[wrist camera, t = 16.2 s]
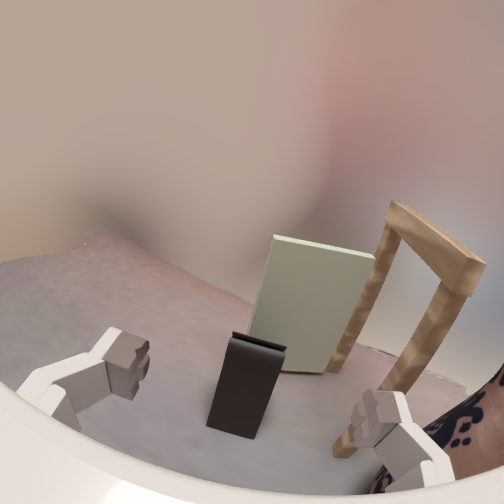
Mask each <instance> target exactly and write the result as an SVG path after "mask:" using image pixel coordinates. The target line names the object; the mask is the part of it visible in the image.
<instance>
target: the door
mask: <svg viewBox="0 0 504 504" xmlns="http://www.w3.org/2000/svg"><path fill="white" fill-rule="evenodd" d="M375 260H376V259H375V257H374V256H373V255H371V254H367V253H363V252H358V251H353V250H348V249H343V248H339V247H334V246H329V245H324V244H318V243H314V242H309V241H304V240H299V239H294V238H289V237H284V236H278V235H273V237H272V242H271V245H270V249H269V253H268V256H267V260H266V264H265V268H264V271H263V275H262V279H261V283H260V286H259V290H258V294H257V298H256V301H255V305H254V309H253V312H252V316H251V320H250V323H249V327H248V331H247V334H246V335H248V336H251V337H255V338H258V339H262V340H265V341H269V342H272V343H276V344H280V345H284V346H287V349H286V350H285V351H284V352H285V353H286V356H285V360H284V363H283V366H282V368H281V370H285V371H300V372H319V373H323V372H324V371H325V369H326V367H327V365H328V363H329V361H330V359H331V357H332V355H333V353H334V351H335V349H336V348H337V346H338V344H339V342H340V339H341V337H342V335H343V333H344V331H345V329H346V327H347V325H348V323H349V321H350V319H351V317H352V314H353V312H354V310H355V308H356V306H357V303H358V301H359V299H360V296H361V294H362V292H363V290H364V287H365V285H366V282H367V280H368V278H369V275H370V273H371V270H372V268H373V265H374V263H375Z"/></svg>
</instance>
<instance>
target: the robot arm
mask: <svg viewBox="0 0 504 504" xmlns="http://www.w3.org/2000/svg"><path fill="white" fill-rule="evenodd" d="M148 350H149V341H148V340H145V339H143V338H140V337H137V336H135V335H132V334H130V333H127V332H125V331H122V330H119V329H117V328H114V327H110V328H108V330H107V331H106V332H105V333H104V335H103V336H102V337H101V338H100V340H99V341H98V342H97V343H96V345H95V346H94V347H93V348H92V350H91V351H90V352H89V353H86V352H84V353H82V354H79V355H76V356H73V357H70V358H68V359H65V360H62V361H59V362H56V363H53V364H50V365H48V366H45V367H42V368H39V369H36V370H34V371H33V372H32V373H31V374H30V376H29V377H28V378H27V379H26V380H25V382H24V383H23V384H22V385H21V386H20V388H19V389H18V390H17V391H16V393H15V392H14V391H13V390H11V389H10V388H9V387H7V386H6V385H5V384H3V383H2V382H1V381H0V504H504V465H503V466H500V467H498V468H495V469H492V470H489V471H486V472H483V473H480V474H477V475H474V476H470V477H467V478H463V479H460V480H455V476H454V473H453V469H452V465H451V462H450V458H449V456H448V455H447V454H446V453H445V452H444V451H443V450H442V449H441V448H440V447H439V446H438V445H437V444H436V443H435V442H434V441H433V440H432V439H431V438H430V437H429V436H428V435H427V434H426V433H425V432H424V431H423V430H422V429H421V428H420V427H419V426H418V425H417V424H416V423H413V422H412V419H411V415H410V412H409V409H408V405H407V402H406V399H405V396H404V394H403V393H402V392H397V391H383V390H371V389H369V390H367V391H366V392H365V393H364V394H363V400H361V401H359V402H357V404H356V405H355V407H354V409H353V412H352V418H351V420H352V425H353V426H354V427H355V428H356V430H355V432H354V433H353V436H354V444H355V447H361V448H374V451H375V452H376V454H377V455H378V457H379V458H380V460H381V461H382V462H383V464H384V465H385V467H386V468H387V470H388V471H389V473H390V474H391V476H392V477H393V478H394V480H395V481H394V482H393V483H392V484H390V485H389V486H387V487H386V488H385V493H379V494H366V495H302V494H288V493H278V492H269V491H261V490H254V489H248V488H242V487H236V486H231V485H226V484H221V483H217V482H212V481H208V480H204V479H200V478H196V477H192V476H188V475H185V474H181V473H178V472H175V471H171V470H168V469H165V468H162V467H159V466H156V465H153V464H150V463H148V462H145V461H142V460H140V459H137V458H134V457H132V456H129V455H127V454H124V453H122V452H120V451H117V450H115V449H113V448H110V447H108V446H106V445H104V444H102V443H100V442H97V441H95V440H93V439H91V438H89V437H87V436H85V435H83V434H81V433H80V431H81V426H80V424H79V421H78V419H77V417H76V415H75V414H77V413H79V412H81V411H83V410H84V409H86V408H88V407H90V406H91V405H93V404H95V403H97V402H99V401H100V400H102V399H104V398H106V397H107V396H109V395H111V393H113V394H115V395H118V396H120V397H123V398H126V399H128V400H131V401H132V400H133V398H134V397H135V395H136V393H137V391H138V389H139V381H141V380H143V379H144V378H145V376H146V374H147V370H148V367H149V361H150V359H149V355H148V354H147V351H148Z"/></svg>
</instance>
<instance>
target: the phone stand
mask: <svg viewBox="0 0 504 504" xmlns="http://www.w3.org/2000/svg"><path fill="white" fill-rule="evenodd" d="M232 334H233V336H232V337H230V340H229V343H228V346H227V350H226V354H225V359H224V363H223V367H222V370H221V374H220V377H219V381H218V385H217V388H216V392H215V395H214V399H213V403H212V406H211V410H210V413H209V417H208V421H207V424H206V425H207V426H210V427H213V428H217V429H220V430H223V431H227V432H230V433H233V434H237V435H241V436H244V437H248V438H252V439H254V438H255V436H256V433H257V431H258V428H259V425H260V423H261V420H262V418H263V415H264V413H265V410H266V407H267V405H268V402H269V399H270V397H271V394H272V391H273V389H274V386H275V383H276V380H277V378H278V375H279V373H280V371H281V368H282V366H283V363H284V360H285V356H286V353H285V352H284V351H285V350H286V349H287V346H284V345H280V344H276V343H272V342H269V341H265V340H262V339H258V338H255V337H251V336H248V335H244V334H241V333H238V332H234V331H233V333H232Z"/></svg>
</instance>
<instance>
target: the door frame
mask: <svg viewBox="0 0 504 504" xmlns="http://www.w3.org/2000/svg"><path fill="white" fill-rule="evenodd" d="M385 222H386V225H385V228H384V231H383V234H382V237H381V240H380V243H379V245H378V248H377V251H376V253H375V256H374V257H375V259H376V260H375V263H374V265H373V268H372V270H371V273H370V275H369V278H368V280H367V282H366V285H365V287H364V290H363V292H362V294H361V296H360V299H359V301H358V303H357V306H356V308H355V310H354V312H353V314H352V317H351V319H350V321H349V323H348V325H347V327H346V329H345V331H344V333H343V335H342V337H341V339H340V342H339V344H338V346H337V348H336V349H335V351H334V353H333V355H332V357H331V359H330V361H329V363H328V365H327V371H330V372H336V373H338V372H339V371H340V369H341V367H342V365H343V363H344V362H345V360H346V358H347V356H348V354H349V353H350V351H351V349H352V347H353V345H354V343H355V341H356V339H357V338H358V335H359V334H360V332H361V330H362V328H363V326H364V324H365V322H366V319H367V318H368V315H369V313H370V311H371V309H372V307H373V305H374V303H375V301H376V299H377V296H378V294H379V292H380V290H381V288H382V285H383V283H384V281H385V278H386V276H387V274H388V271H389V269H390V266H391V264H392V262H393V259H394V257H395V254H396V251H397V249H398V246H399V244H400V241H401V238H402V239H403V240H404V241H405V242H406V243H407V244H408V245H409V246H410V247H411V248H412V249H413V250H414V251H415V252H416V253H417V254H418V255H419V256H420V257H421V258H422V259H423V260H424V261H425V263H426V264H427V265H428V266H429V267H430V268H431V269H432V270H433V271H434V272H435V274H436V275H437V276H438V277H439V278H440V279H441V282H440V284H439V287H438V289H437V291H436V293H435V295H434V297H433V299H432V301H431V303H430V305H429V307H428V309H427V310H426V312H425V314H424V316H423V318H422V320H421V322H420V323H419V325H418V327H417V329H416V331H415V332H414V334H413V336H412V338H411V339H410V341H409V342H408V344H407V346H406V347H405V349H404V351H403V352H402V354H401V356H400V357H399V359H398V360H397V362H396V363H395V365H394V366H393V368H392V369H391V371H390V372H389V374H388V375H387V377H386V378H385V380H384V381H383V383H382V384H381V386H380V387H379V388H378V390H383V391H397V392H402V393H403V394H404V396H405V394H406V393H407V392H408V390H409V389H410V388H411V386H412V385H413V384H414V382H415V381H416V380H417V378H418V377H419V376H420V374H421V373H422V371H423V370H424V368H425V367H426V366H427V364H428V362H429V361H430V360H431V358H432V357H433V355H434V354H435V352H436V351H437V349H438V347H439V346H440V344H441V343H442V341H443V339H444V338H445V336H446V334H447V333H448V331H449V330H450V328H451V326H452V324H453V323H454V321H455V319H456V317H457V315H458V314H459V312H460V310H461V308H462V306H463V304H464V302H465V300H466V298H467V297H471V296H472V294H473V292H474V290H475V288H476V286H477V284H478V282H479V280H480V278H481V276H482V273H483V271H484V269H485V267H486V263H484V262H483V261H482V260H481V259H479V258H478V257H477V256H476V255H475V254H473V253H472V252H471V251H469V250H468V249H467V248H466V247H464V246H463V245H462V244H461V243H459V242H458V241H456V240H455V239H454V238H453V237H451V236H450V235H448V234H447V233H446V232H444V231H443V230H442V229H440V228H439V227H437V226H436V225H434V224H433V223H432V222H430V221H429V220H427V219H426V218H424V217H423V216H421V215H420V214H419V213H417V212H416V211H414V210H412V209H411V208H409V207H408V206H406V205H403V204H400V203H398V202H395V201H391V204H390V207H389V210H388V214H387V217H386V219H385ZM355 430H356V428H355V427H354V426H353V425H352V424H351V425H350V426H349V427H348V429H347V430H346V431H345V432H344V433H343V434H342V436H341V437H340V438H339V439H338V440H337V441H336V443H335V444H334V445H333V447H334V457H339V458H349V457H350V456H351V455H352V454H353V453H354V452H355V451H356V450H357V449H358V448H359V447H355V444H354V436H353V433H354V432H355Z"/></svg>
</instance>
